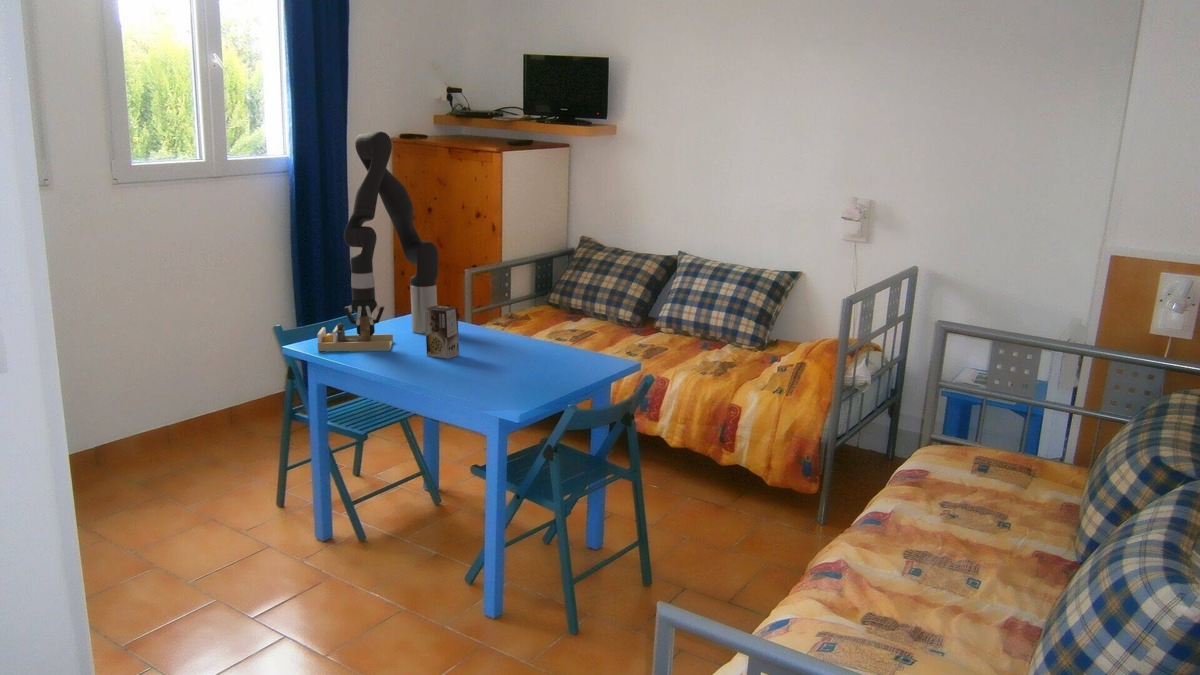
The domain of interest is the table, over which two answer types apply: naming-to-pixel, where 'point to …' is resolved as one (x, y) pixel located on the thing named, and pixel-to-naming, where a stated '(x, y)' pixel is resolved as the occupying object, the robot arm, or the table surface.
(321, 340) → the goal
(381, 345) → the tan tray
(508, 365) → the table surface
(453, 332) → the coffee box
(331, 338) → the ball
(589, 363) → the table surface
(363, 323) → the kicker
